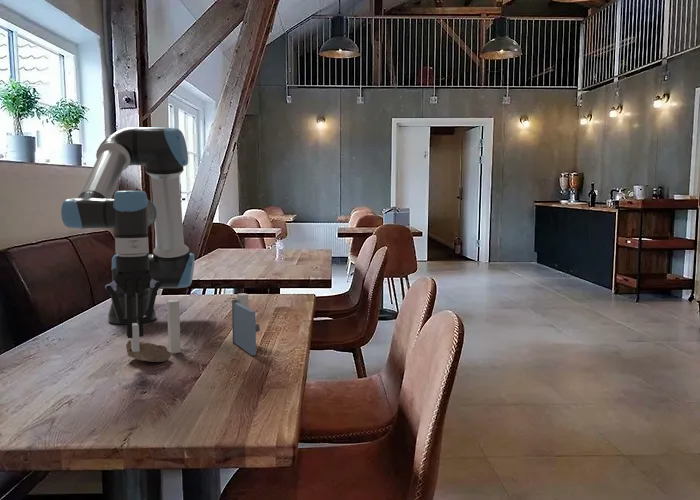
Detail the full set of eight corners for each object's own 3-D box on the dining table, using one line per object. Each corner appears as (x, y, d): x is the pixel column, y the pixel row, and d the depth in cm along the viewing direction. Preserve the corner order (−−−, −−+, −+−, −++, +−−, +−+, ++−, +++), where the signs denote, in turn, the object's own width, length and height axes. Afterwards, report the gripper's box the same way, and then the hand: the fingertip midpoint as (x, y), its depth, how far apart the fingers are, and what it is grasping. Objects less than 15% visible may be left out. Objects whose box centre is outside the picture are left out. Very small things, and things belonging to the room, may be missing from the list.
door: (251, 357, 151) (250, 309, 150) (232, 342, 165) (231, 299, 164) (261, 355, 153) (261, 308, 152) (242, 341, 167) (241, 298, 166)
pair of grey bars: (168, 351, 157) (166, 300, 156) (245, 340, 168) (244, 293, 167) (171, 353, 154) (169, 302, 153) (249, 342, 166) (248, 294, 164)
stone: (140, 362, 140) (144, 341, 141) (121, 357, 148) (124, 338, 149) (174, 363, 146) (177, 344, 147) (154, 359, 154) (156, 341, 155)
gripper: (105, 257, 133) (109, 357, 135) (163, 254, 139) (166, 350, 141) (101, 254, 139) (105, 350, 141) (156, 252, 145) (159, 343, 148)
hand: (135, 350), depth 141 cm, fingers closed
